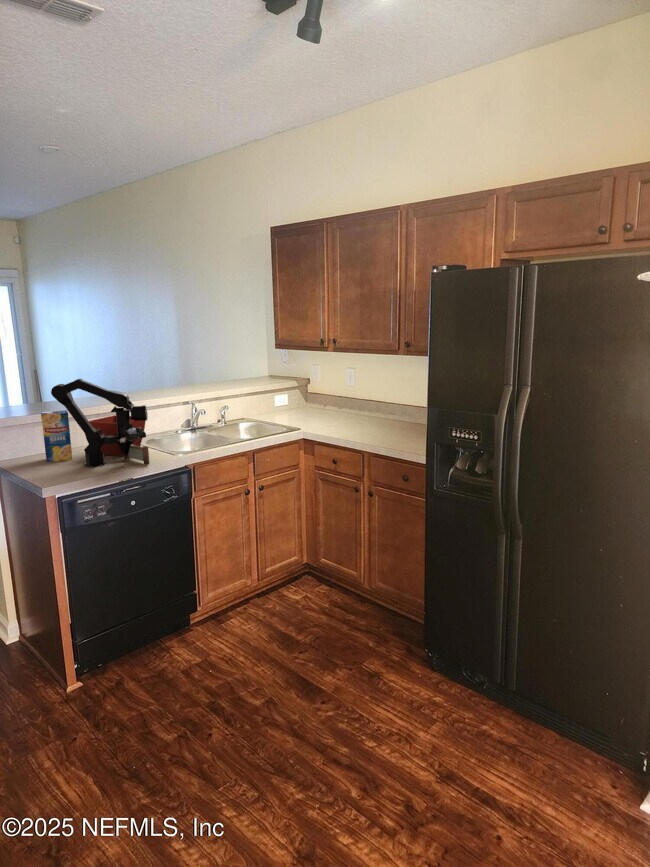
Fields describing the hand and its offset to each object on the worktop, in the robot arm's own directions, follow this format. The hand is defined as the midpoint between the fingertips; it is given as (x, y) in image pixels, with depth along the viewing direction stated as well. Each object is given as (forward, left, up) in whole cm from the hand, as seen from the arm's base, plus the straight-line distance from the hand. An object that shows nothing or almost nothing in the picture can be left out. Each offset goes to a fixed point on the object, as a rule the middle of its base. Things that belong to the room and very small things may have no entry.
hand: (126, 455), depth 254 cm
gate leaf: (+5, -1, -2) cm, 5 cm away
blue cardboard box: (-14, +32, -4) cm, 35 cm away
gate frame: (+5, -1, -4) cm, 6 cm away
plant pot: (+10, +20, -4) cm, 23 cm away
